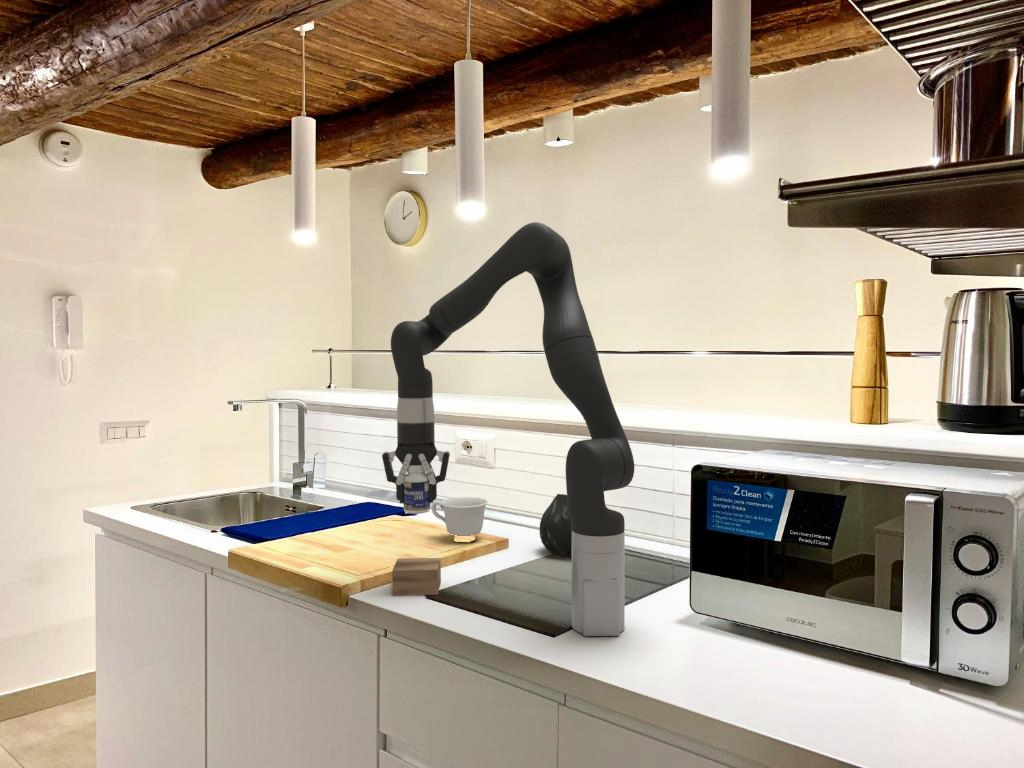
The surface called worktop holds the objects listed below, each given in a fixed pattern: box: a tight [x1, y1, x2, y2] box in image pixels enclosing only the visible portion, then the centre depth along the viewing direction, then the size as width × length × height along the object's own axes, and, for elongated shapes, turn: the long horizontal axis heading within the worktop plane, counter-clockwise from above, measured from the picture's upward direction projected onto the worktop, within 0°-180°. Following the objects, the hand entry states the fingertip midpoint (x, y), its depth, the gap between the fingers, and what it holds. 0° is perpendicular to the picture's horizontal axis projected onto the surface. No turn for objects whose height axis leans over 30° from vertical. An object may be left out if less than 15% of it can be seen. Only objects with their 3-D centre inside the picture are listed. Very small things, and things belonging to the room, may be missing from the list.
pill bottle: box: [403, 465, 431, 515], centre depth 160 cm, size 5×5×10 cm
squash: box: [539, 493, 572, 558], centre depth 188 cm, size 14×15×15 cm
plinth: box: [391, 557, 442, 596], centre depth 161 cm, size 9×9×5 cm
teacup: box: [431, 496, 489, 536], centre depth 200 cm, size 12×15×10 cm
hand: (416, 501), depth 160 cm, fingers closed on pill bottle, 5 cm apart
